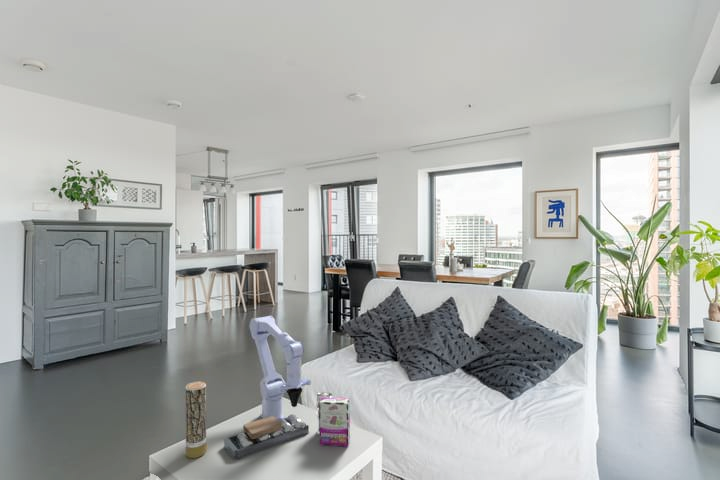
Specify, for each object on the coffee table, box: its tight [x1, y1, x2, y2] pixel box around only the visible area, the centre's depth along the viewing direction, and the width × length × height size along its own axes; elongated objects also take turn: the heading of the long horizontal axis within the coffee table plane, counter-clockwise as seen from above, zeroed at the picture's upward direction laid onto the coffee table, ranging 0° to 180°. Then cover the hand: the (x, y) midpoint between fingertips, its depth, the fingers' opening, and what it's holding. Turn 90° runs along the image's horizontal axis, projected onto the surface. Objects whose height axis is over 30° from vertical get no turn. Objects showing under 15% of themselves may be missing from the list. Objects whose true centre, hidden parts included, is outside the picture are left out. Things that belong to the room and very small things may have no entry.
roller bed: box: [223, 413, 310, 460], centre depth 145 cm, size 11×30×4 cm, turn 128°
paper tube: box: [185, 381, 207, 459], centre depth 135 cm, size 7×7×25 cm
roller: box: [236, 432, 254, 449], centre depth 139 cm, size 8×4×4 cm, turn 37°
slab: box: [243, 416, 282, 440], centre depth 144 cm, size 9×12×2 cm
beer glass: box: [315, 391, 334, 436], centre depth 150 cm, size 7×7×15 cm
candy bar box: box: [319, 397, 351, 447], centre depth 143 cm, size 11×5×16 cm, turn 83°
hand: (294, 405), depth 152 cm, fingers closed
